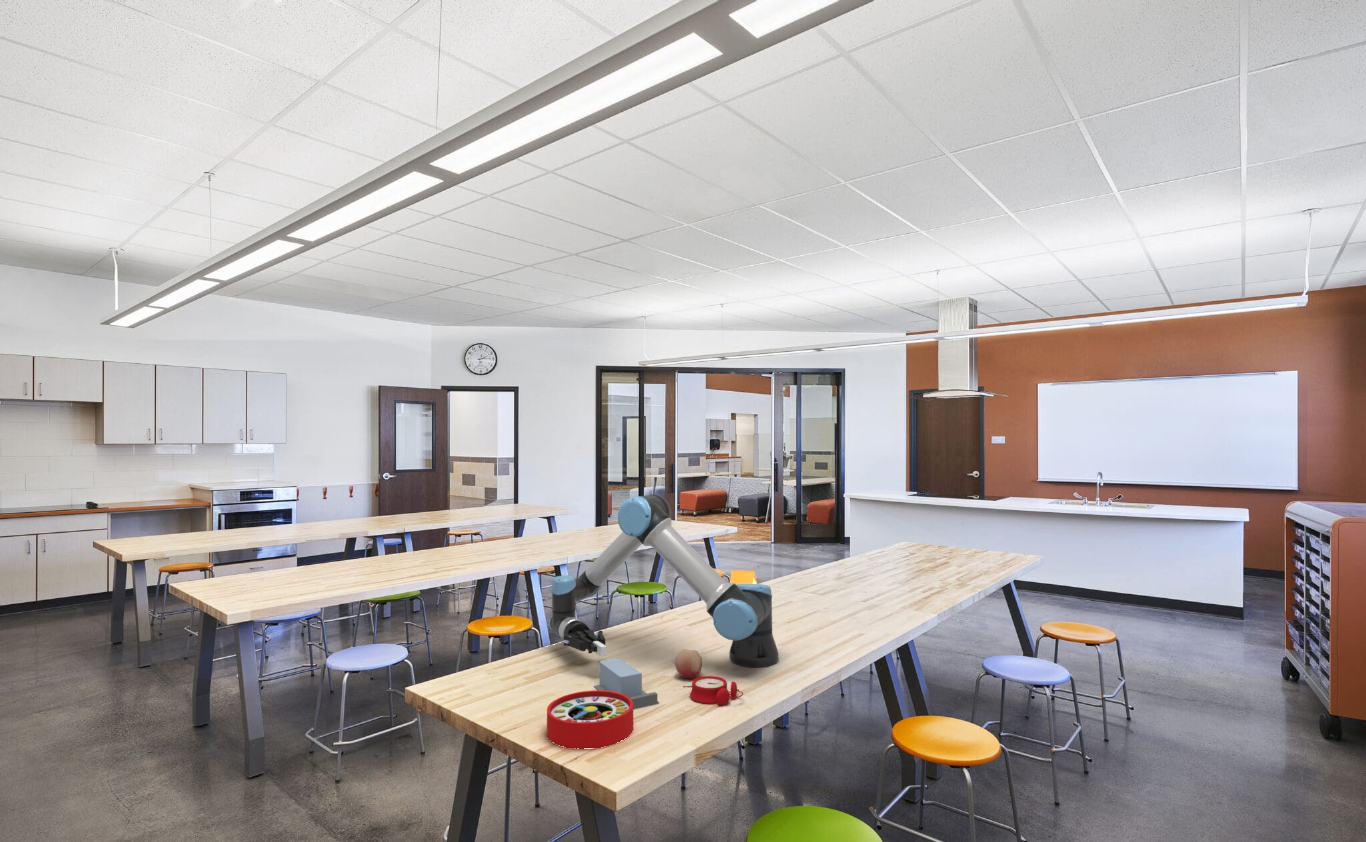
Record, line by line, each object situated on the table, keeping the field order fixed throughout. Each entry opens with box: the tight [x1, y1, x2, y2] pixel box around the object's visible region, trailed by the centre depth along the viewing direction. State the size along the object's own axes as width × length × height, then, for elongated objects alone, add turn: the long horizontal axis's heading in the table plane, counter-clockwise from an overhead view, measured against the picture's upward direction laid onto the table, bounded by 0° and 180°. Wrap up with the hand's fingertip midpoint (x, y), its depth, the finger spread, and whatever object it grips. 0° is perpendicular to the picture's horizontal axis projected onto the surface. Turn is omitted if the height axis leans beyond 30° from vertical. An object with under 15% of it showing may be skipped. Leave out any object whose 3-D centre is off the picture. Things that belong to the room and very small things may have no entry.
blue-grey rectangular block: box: [598, 658, 643, 697], centre depth 178 cm, size 6×6×15 cm
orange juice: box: [729, 569, 758, 584], centre depth 244 cm, size 8×9×20 cm
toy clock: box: [546, 689, 634, 749], centre depth 153 cm, size 20×6×20 cm
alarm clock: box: [682, 675, 744, 707], centre depth 172 cm, size 10×6×15 cm
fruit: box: [674, 648, 703, 680], centre depth 189 cm, size 8×8×8 cm
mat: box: [593, 684, 660, 710], centre depth 175 cm, size 20×10×2 cm, turn 29°
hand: (604, 651), depth 186 cm, fingers closed
